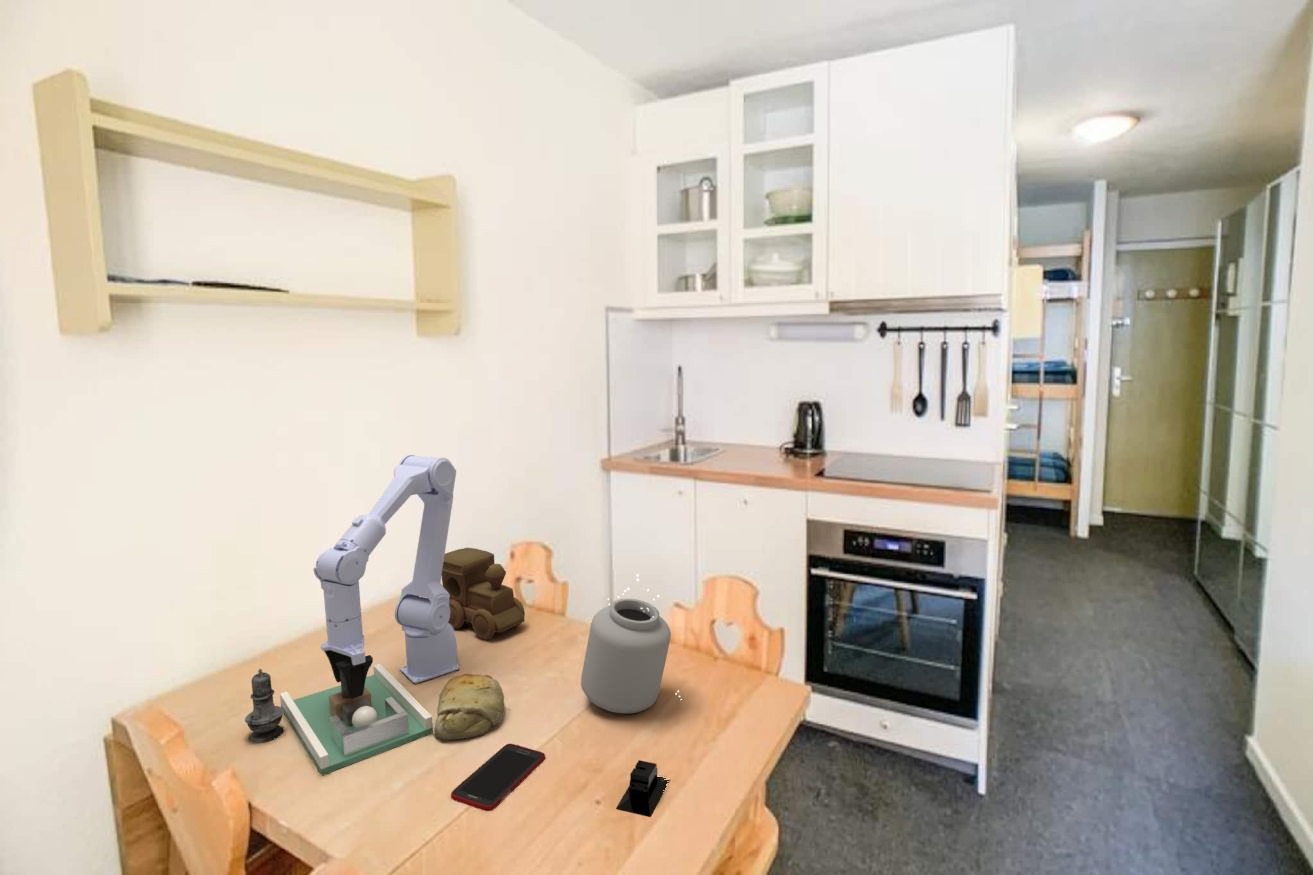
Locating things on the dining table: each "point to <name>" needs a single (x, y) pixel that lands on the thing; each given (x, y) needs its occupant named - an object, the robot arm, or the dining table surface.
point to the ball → (364, 716)
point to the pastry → (468, 707)
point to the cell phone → (497, 777)
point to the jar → (625, 656)
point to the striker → (347, 703)
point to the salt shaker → (263, 711)
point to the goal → (370, 730)
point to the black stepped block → (643, 790)
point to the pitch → (314, 724)
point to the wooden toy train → (479, 593)
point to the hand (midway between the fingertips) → (349, 688)
